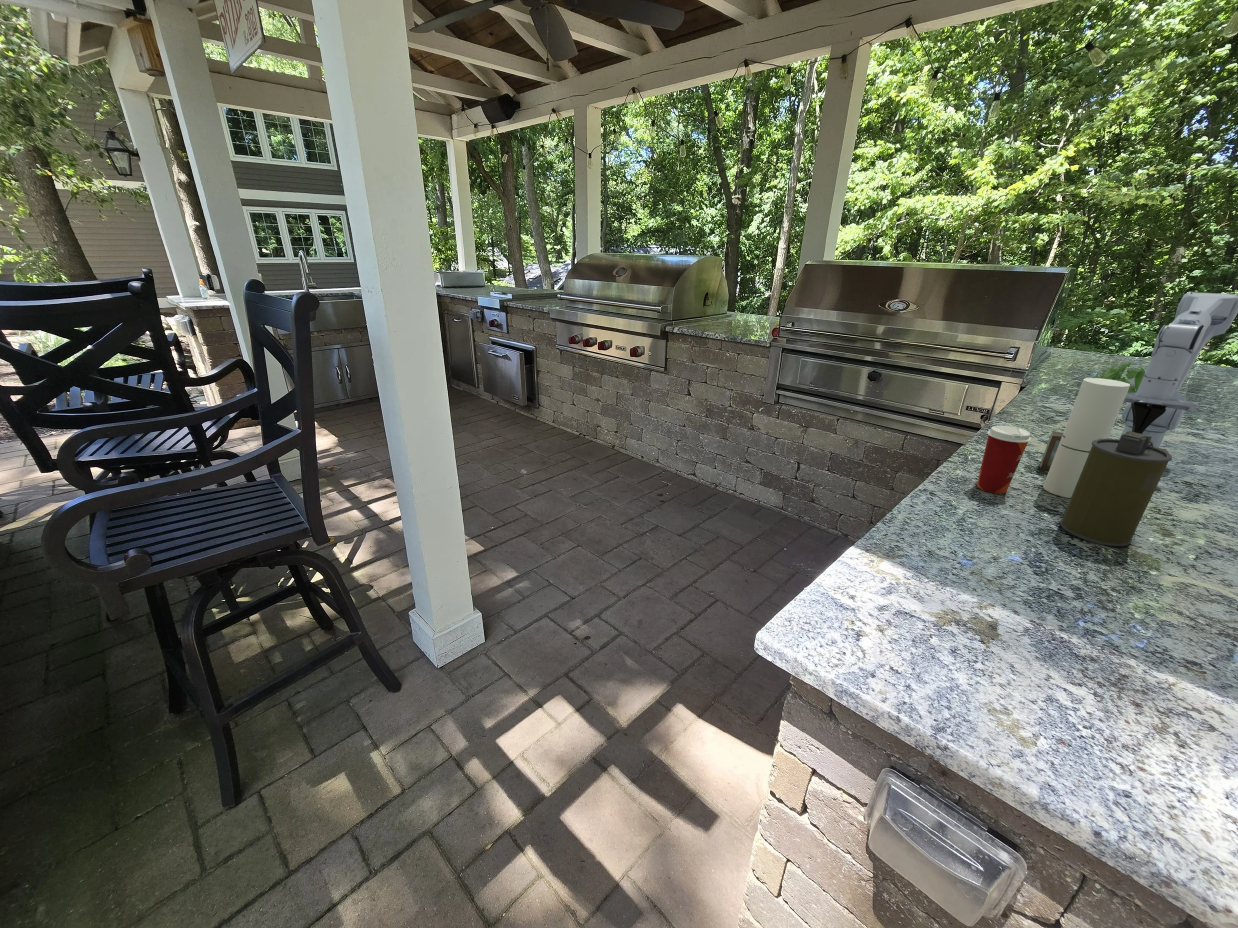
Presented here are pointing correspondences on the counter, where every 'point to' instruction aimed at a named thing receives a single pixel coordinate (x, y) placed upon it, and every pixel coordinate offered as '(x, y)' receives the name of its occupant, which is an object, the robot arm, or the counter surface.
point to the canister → (1114, 489)
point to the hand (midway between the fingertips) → (1135, 434)
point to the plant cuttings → (1117, 374)
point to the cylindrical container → (1084, 431)
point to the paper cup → (1001, 458)
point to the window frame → (1054, 450)
